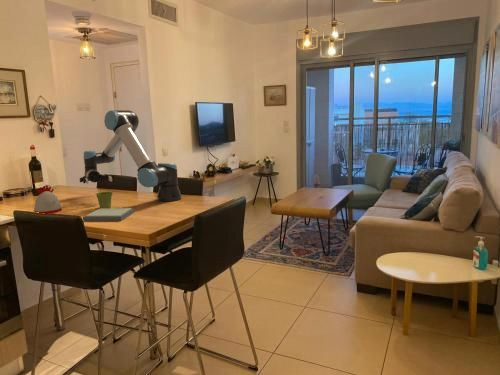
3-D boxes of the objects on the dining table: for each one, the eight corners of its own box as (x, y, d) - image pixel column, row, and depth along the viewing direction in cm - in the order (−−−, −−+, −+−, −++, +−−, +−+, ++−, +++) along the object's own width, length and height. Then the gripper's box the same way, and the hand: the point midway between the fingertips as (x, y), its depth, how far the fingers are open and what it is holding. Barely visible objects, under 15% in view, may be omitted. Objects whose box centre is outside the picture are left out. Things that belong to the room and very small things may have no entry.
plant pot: (113, 208, 214) (112, 193, 213) (96, 210, 212) (94, 195, 210) (114, 205, 223) (113, 191, 222) (97, 206, 220) (96, 192, 219)
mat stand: (134, 212, 204) (134, 207, 204) (121, 220, 186) (120, 215, 186) (99, 212, 206) (98, 208, 205) (83, 221, 188) (82, 216, 187)
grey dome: (31, 211, 212) (28, 186, 209) (57, 207, 221) (54, 182, 219) (38, 215, 202) (35, 188, 199) (65, 211, 211) (62, 185, 209)
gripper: (114, 179, 248) (121, 184, 230) (73, 183, 235) (77, 188, 217) (113, 168, 247) (120, 172, 229) (72, 171, 234) (76, 176, 216)
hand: (99, 180), depth 223 cm, fingers open, 13 cm apart
